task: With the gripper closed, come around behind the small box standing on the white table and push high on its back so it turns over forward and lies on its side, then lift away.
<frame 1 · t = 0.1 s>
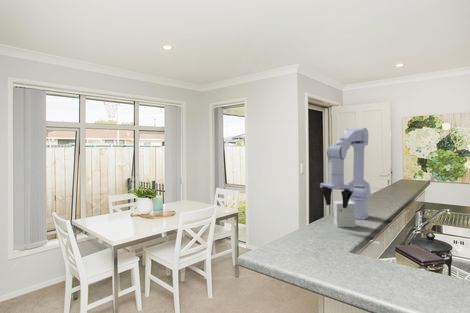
hand: (336, 206, 121), 10 cm above the worktop, tool pointing down, fingers open, 7 cm apart
small box: (344, 226, 128), on the worktop
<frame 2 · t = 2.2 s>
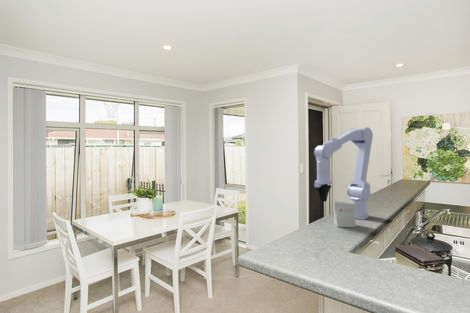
hand: (323, 201, 132), 10 cm above the worktop, tool pointing down, fingers closed
nothing on the worktop moved.
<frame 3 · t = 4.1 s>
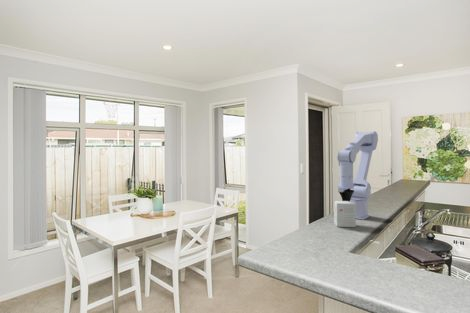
hand: (346, 205, 132), 8 cm above the worktop, tool pointing down, fingers closed
small box: (344, 225, 128), on the worktop, touching gripper
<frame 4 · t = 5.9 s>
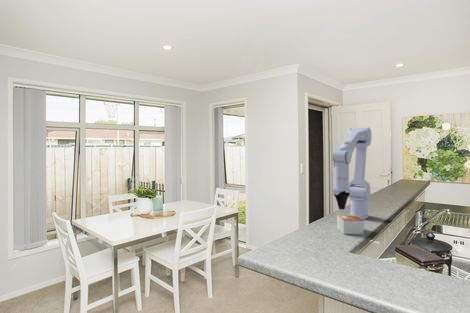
hand: (341, 209, 125), 8 cm above the worktop, tool pointing down, fingers closed
small box: (346, 220, 125), point 3 cm above the worktop
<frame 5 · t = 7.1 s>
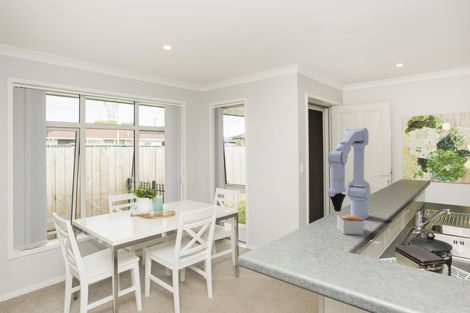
hand: (337, 211, 122), 8 cm above the worktop, tool pointing down, fingers closed
nothing on the worktop moved.
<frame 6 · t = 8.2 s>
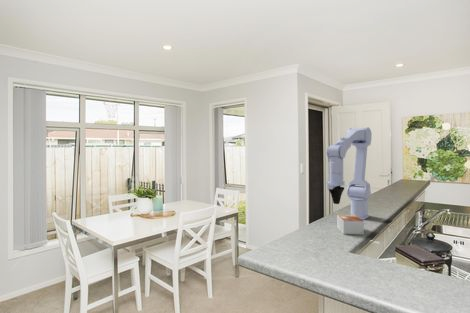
hand: (336, 203, 126), 10 cm above the worktop, tool pointing down, fingers closed
nothing on the worktop moved.
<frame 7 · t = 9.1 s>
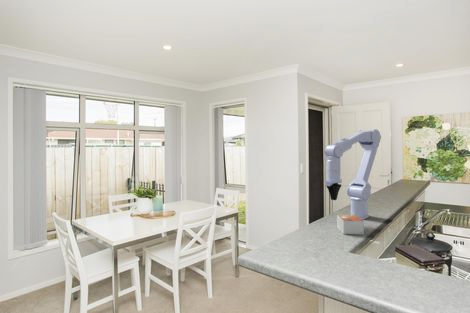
hand: (333, 199, 134), 10 cm above the worktop, tool pointing down, fingers closed
nothing on the worktop moved.
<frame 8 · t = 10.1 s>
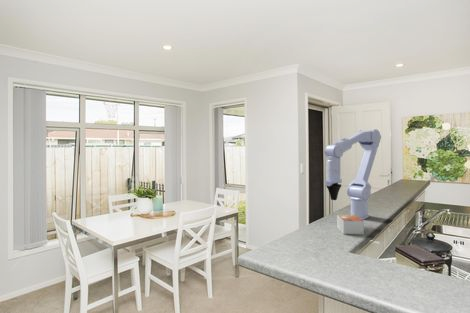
hand: (333, 199, 134), 10 cm above the worktop, tool pointing down, fingers closed
nothing on the worktop moved.
at the end: small box tilted 90°; small box inside the target area (4.2 cm from its centre), point 2.7 cm above the worktop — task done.
